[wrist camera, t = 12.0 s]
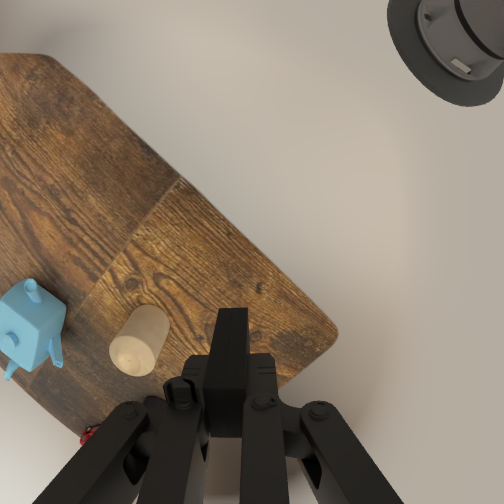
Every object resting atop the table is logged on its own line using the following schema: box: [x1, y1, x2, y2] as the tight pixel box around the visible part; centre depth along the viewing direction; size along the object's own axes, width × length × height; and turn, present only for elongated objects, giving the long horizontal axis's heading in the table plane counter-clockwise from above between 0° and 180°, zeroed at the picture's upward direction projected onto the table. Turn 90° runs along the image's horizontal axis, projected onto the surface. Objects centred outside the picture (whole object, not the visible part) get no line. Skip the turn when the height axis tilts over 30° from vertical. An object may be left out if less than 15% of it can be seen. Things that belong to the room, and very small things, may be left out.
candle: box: [109, 304, 170, 376], centre depth 36 cm, size 6×6×10 cm
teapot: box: [0, 278, 66, 381], centre depth 36 cm, size 18×14×10 cm
